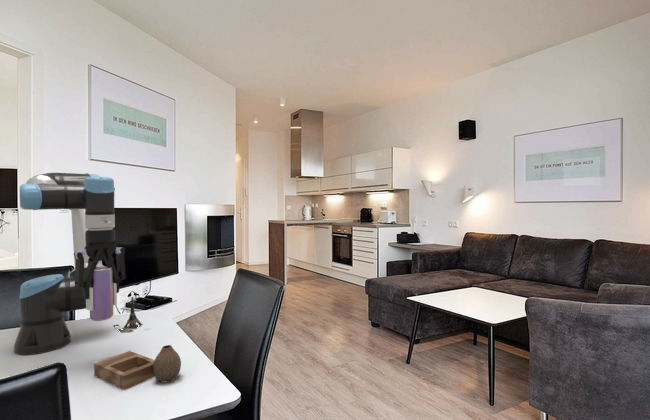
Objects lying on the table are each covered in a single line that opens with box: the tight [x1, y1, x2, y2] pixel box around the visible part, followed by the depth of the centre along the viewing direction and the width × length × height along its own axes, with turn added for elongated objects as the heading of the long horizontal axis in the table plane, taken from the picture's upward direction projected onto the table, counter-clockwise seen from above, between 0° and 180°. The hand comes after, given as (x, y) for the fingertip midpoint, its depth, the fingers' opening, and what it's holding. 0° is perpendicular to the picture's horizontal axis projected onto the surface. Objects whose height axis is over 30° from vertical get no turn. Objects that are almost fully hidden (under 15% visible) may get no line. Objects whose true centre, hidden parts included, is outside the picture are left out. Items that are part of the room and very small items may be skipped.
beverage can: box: [89, 265, 114, 322], centre depth 108 cm, size 6×6×15 cm
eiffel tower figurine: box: [112, 296, 144, 334], centre depth 142 cm, size 15×10×13 cm
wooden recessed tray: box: [93, 350, 156, 390], centre depth 101 cm, size 15×10×4 cm, turn 58°
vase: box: [153, 344, 182, 383], centre depth 99 cm, size 7×7×9 cm
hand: (101, 306), depth 108 cm, fingers closed on beverage can, 6 cm apart
